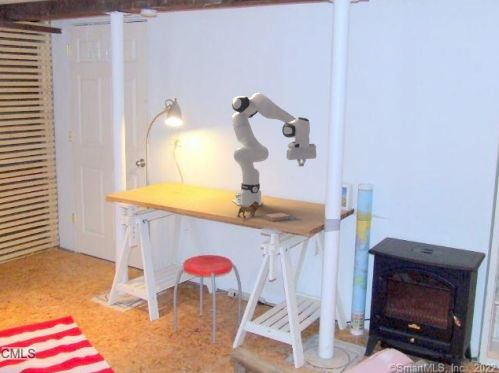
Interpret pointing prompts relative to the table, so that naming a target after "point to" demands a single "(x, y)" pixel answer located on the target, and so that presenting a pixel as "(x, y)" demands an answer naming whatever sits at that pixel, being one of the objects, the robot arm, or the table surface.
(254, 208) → the lion figurine
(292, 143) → the robot arm
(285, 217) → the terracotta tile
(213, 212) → the table surface
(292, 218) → the rubber mat
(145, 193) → the table surface
